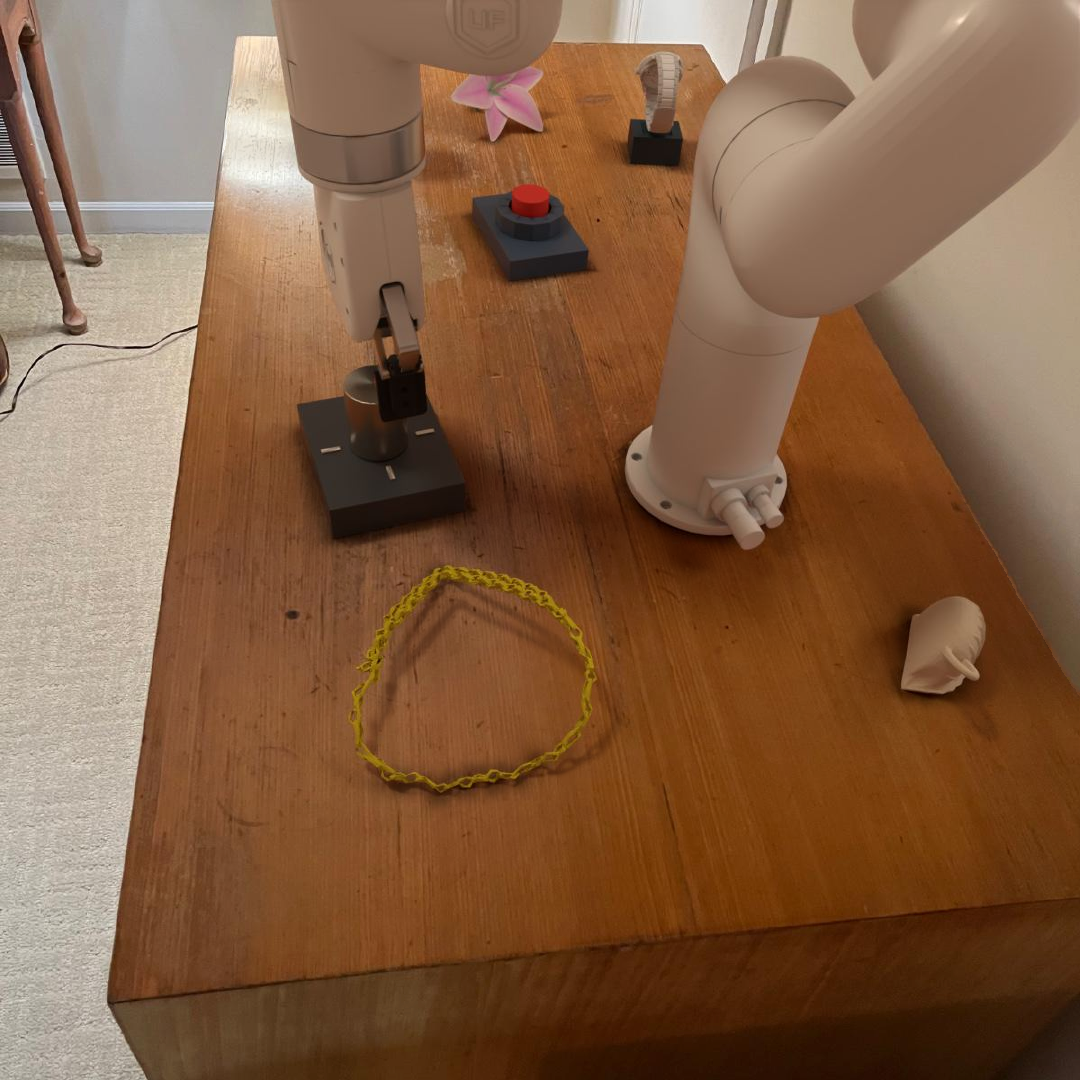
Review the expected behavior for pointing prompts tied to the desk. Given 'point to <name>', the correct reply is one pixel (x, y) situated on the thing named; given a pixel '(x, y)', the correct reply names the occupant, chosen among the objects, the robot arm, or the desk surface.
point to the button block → (529, 238)
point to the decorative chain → (411, 602)
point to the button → (530, 201)
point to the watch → (657, 112)
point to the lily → (502, 98)
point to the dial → (370, 419)
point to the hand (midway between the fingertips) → (386, 372)
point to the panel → (379, 472)
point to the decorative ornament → (943, 646)
